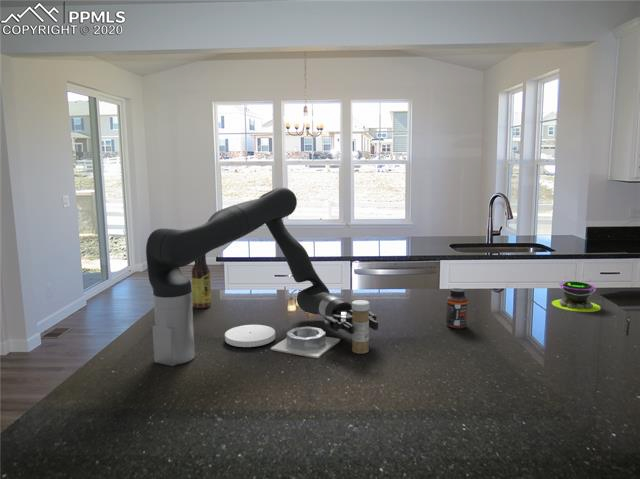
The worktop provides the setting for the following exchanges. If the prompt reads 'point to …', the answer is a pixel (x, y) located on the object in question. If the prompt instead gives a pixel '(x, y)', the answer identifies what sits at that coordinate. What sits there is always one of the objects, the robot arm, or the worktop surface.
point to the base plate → (313, 353)
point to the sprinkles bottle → (360, 326)
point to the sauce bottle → (201, 284)
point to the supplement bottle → (456, 309)
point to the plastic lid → (250, 335)
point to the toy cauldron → (576, 297)
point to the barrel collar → (306, 338)
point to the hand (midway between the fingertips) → (364, 328)
